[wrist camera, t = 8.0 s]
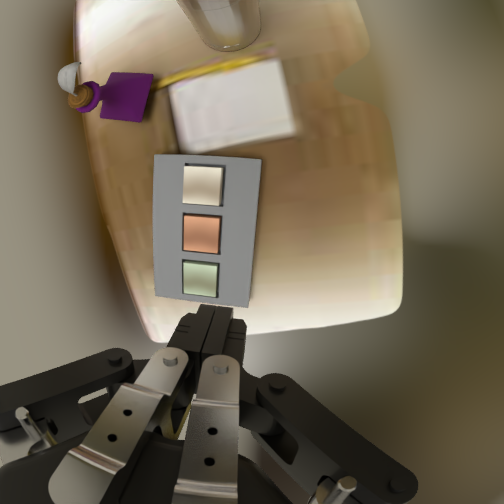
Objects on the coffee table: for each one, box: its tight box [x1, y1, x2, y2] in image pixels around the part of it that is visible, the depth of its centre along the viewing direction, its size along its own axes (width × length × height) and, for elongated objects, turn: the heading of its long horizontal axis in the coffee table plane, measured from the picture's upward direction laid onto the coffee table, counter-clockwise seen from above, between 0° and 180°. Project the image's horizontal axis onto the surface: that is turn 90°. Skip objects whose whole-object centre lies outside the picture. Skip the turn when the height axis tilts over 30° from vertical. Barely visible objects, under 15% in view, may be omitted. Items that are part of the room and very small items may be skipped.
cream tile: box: [183, 166, 224, 206], centre depth 39 cm, size 5×5×2 cm
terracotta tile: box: [184, 213, 222, 253], centre depth 42 cm, size 5×5×2 cm
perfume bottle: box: [58, 62, 153, 122], centre depth 30 cm, size 8×8×18 cm
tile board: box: [153, 154, 262, 308], centre depth 43 cm, size 22×15×3 cm
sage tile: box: [184, 259, 219, 297], centre depth 44 cm, size 5×5×2 cm
